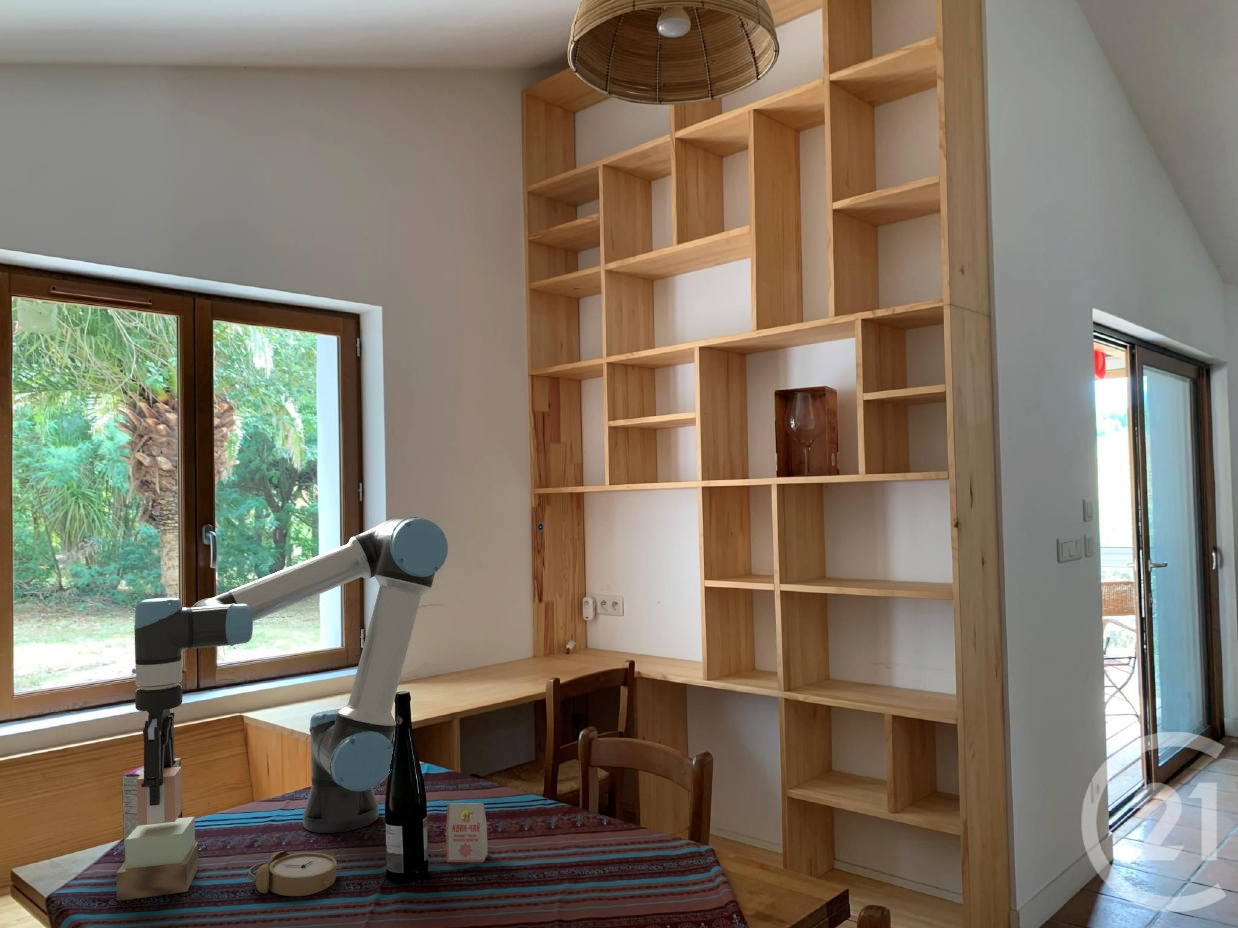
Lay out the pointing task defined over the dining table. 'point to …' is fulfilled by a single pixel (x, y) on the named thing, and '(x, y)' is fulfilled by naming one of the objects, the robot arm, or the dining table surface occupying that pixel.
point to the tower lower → (157, 878)
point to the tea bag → (466, 832)
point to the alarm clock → (295, 873)
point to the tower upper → (160, 843)
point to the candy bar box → (133, 800)
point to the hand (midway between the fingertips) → (160, 815)
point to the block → (172, 796)
